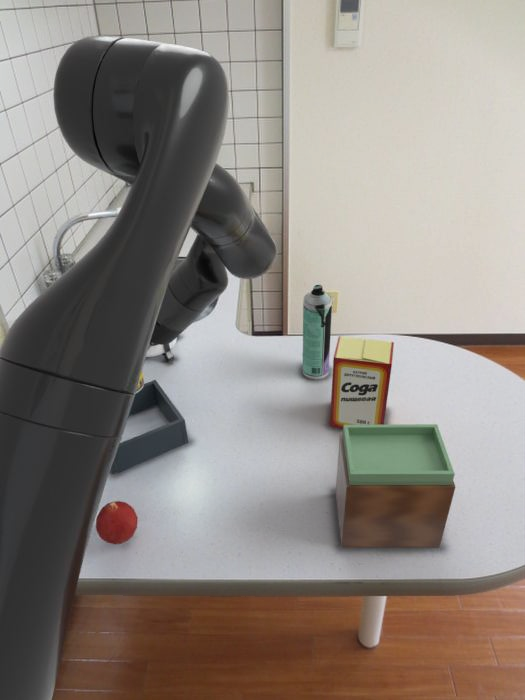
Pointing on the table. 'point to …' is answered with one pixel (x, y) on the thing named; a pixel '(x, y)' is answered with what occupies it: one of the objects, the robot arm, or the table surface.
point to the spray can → (316, 333)
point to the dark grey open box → (155, 439)
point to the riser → (390, 512)
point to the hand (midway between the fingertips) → (113, 364)
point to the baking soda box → (360, 381)
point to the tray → (396, 455)
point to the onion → (116, 522)
